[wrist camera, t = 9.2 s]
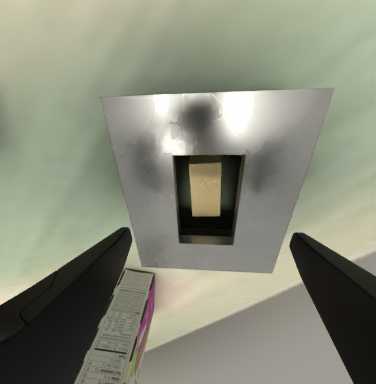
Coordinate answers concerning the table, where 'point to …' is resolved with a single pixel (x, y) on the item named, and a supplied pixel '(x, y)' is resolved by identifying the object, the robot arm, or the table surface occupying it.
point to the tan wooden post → (205, 184)
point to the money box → (215, 145)
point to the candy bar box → (121, 333)
